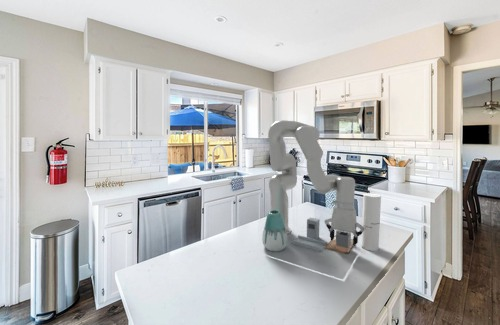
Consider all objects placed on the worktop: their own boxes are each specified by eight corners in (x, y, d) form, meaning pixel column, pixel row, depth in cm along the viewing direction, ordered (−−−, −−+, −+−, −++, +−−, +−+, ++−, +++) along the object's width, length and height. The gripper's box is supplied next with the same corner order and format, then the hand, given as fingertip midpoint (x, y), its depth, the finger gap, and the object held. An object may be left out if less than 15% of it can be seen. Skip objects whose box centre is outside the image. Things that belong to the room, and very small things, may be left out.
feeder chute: (291, 244, 118) (291, 240, 118) (298, 238, 125) (298, 235, 124) (321, 252, 110) (321, 248, 109) (327, 246, 116) (327, 242, 116)
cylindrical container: (380, 251, 110) (383, 197, 107) (363, 250, 112) (365, 196, 109) (375, 244, 117) (378, 193, 114) (359, 243, 119) (361, 192, 116)
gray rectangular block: (306, 238, 125) (306, 219, 123) (309, 235, 128) (310, 217, 127) (316, 241, 122) (316, 221, 120) (319, 238, 125) (319, 219, 124)
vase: (277, 257, 106) (277, 217, 104) (257, 249, 114) (256, 211, 112) (292, 247, 115) (292, 210, 113) (272, 240, 123) (272, 206, 120)
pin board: (323, 249, 113) (324, 237, 112) (334, 237, 126) (334, 226, 125) (348, 255, 107) (348, 243, 106) (356, 242, 120) (357, 231, 119)
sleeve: (335, 249, 110) (336, 234, 109) (339, 245, 114) (339, 230, 113) (347, 252, 107) (348, 236, 106) (350, 247, 111) (350, 233, 110)
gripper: (322, 203, 110) (321, 240, 112) (364, 210, 100) (362, 250, 102) (328, 200, 116) (326, 234, 118) (367, 206, 106) (365, 243, 108)
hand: (343, 241), depth 110 cm, fingers open, 9 cm apart
